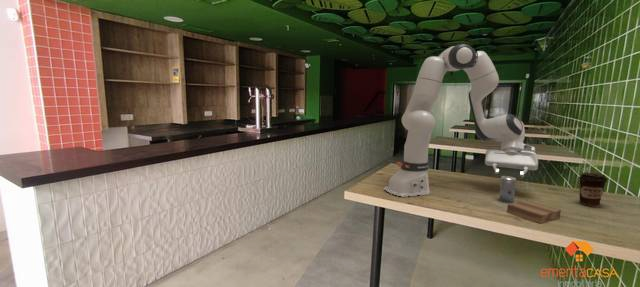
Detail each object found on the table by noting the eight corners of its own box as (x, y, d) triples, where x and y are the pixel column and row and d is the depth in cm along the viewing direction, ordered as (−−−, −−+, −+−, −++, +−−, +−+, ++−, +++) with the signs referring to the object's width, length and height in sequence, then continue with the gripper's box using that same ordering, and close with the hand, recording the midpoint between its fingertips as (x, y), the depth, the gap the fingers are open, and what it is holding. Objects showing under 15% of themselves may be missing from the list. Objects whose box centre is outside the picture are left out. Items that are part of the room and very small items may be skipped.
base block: (540, 223, 103) (541, 215, 102) (506, 212, 114) (507, 204, 113) (559, 217, 108) (560, 210, 107) (525, 206, 119) (526, 199, 118)
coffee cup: (606, 210, 115) (611, 178, 113) (578, 206, 119) (582, 175, 117) (600, 203, 122) (604, 173, 120) (574, 199, 126) (578, 170, 124)
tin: (508, 203, 122) (510, 180, 121) (496, 199, 127) (498, 176, 126) (516, 201, 124) (519, 178, 123) (504, 198, 129) (506, 175, 128)
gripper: (486, 143, 139) (482, 167, 133) (539, 147, 127) (537, 174, 121) (486, 151, 143) (482, 175, 137) (538, 155, 132) (536, 181, 125)
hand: (509, 174), depth 129 cm, fingers open, 8 cm apart
